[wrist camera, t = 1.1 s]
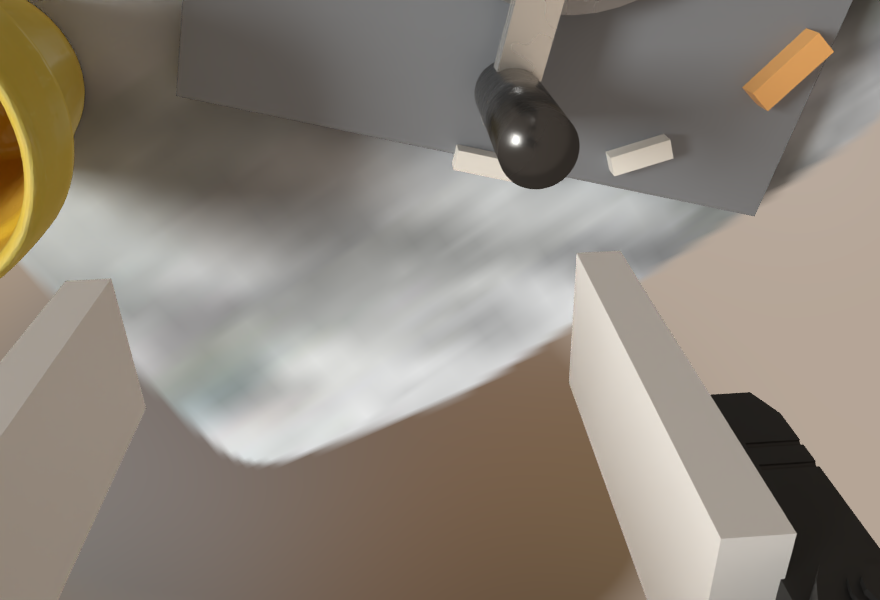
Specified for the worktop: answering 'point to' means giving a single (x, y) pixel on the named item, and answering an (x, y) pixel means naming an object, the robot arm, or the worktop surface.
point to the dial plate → (565, 78)
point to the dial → (530, 94)
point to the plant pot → (34, 125)
